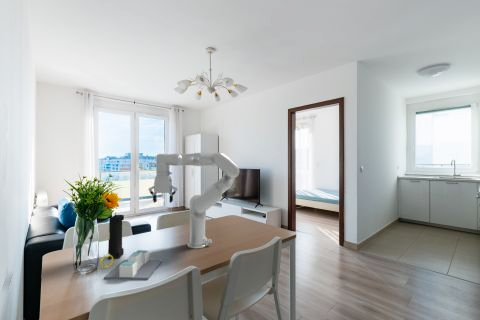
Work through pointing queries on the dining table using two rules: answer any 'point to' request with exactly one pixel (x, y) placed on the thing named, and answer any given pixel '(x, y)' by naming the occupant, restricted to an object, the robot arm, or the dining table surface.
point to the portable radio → (115, 237)
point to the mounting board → (140, 272)
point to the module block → (136, 258)
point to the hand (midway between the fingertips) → (163, 202)
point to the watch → (105, 257)
